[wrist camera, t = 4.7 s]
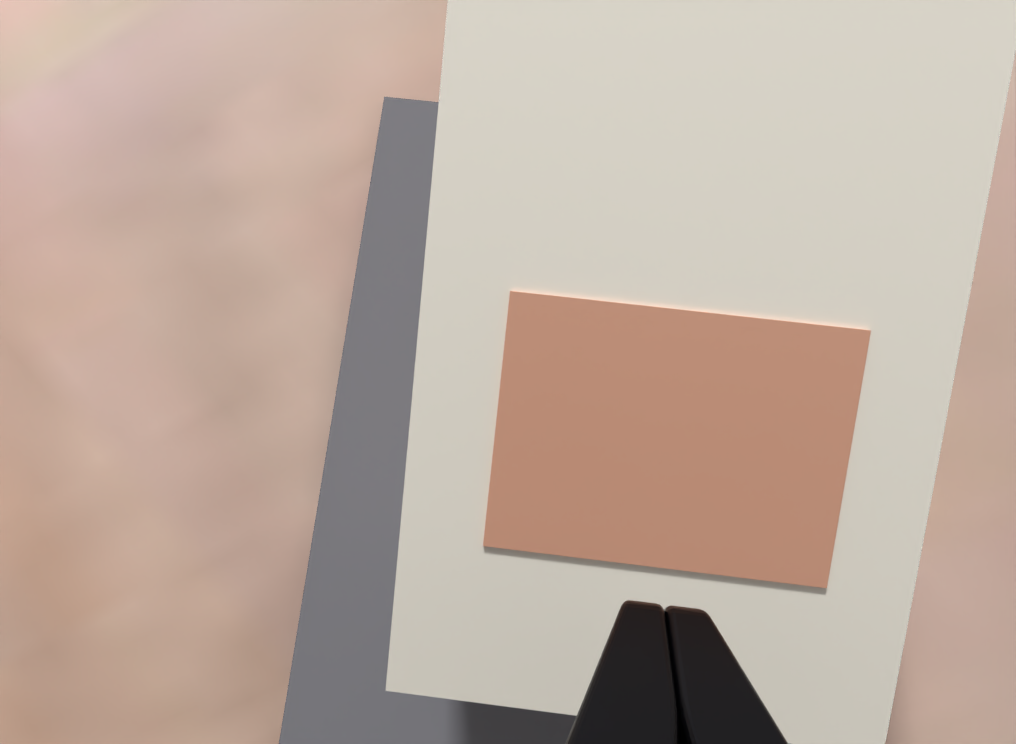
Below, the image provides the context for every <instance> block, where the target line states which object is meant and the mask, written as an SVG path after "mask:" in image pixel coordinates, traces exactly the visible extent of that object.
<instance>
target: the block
mask: <svg viewBox="0 0 1016 744" xmlns="http://www.w3.org/2000/svg"><path fill="white" fill-rule="evenodd" d="M1015 52H1016V0H448V5H447V16H446V27H445V38H444V49H443V60H442V71H441V82H440V93H439V104H438V115H437V126H436V137H435V148H434V159H433V170H432V182H431V193H430V204H429V215H428V226H427V237H426V248H425V259H424V270H423V281H422V292H421V303H420V314H419V325H418V336H417V347H416V359H415V370H414V381H413V392H412V403H411V414H410V425H409V436H408V447H407V458H406V469H405V480H404V491H403V502H402V513H401V524H400V535H399V547H398V558H397V569H396V580H395V591H394V602H393V613H392V624H391V635H390V646H389V657H388V668H387V679H386V690H385V691H391V692H399V693H406V694H414V695H422V696H429V697H437V698H445V699H452V700H460V701H467V702H475V703H483V704H490V705H498V706H506V707H513V708H521V709H529V710H536V711H544V712H552V713H559V714H567V715H574V716H577V714H578V711H579V709H580V706H581V704H582V701H583V699H584V696H585V694H586V691H587V689H588V687H589V684H590V682H591V679H592V677H593V674H594V672H595V669H596V667H597V664H598V662H599V659H600V657H601V654H602V652H603V649H604V647H605V644H606V642H607V639H608V637H609V635H610V632H611V630H612V627H613V625H614V622H615V620H616V617H617V615H618V612H619V610H620V608H621V605H622V604H623V603H624V602H625V601H627V600H633V601H641V602H649V603H656V604H659V605H661V606H662V607H663V609H665V608H666V607H668V606H672V605H673V606H681V607H689V608H697V609H701V610H704V611H705V612H706V613H708V614H709V616H710V617H711V619H712V620H713V622H714V624H715V625H716V627H717V628H718V630H719V632H720V633H721V635H722V637H723V638H724V640H725V641H726V643H727V645H728V646H729V648H730V650H731V651H732V653H733V655H734V656H735V658H736V659H737V661H738V663H739V664H740V666H741V668H742V669H743V671H744V672H745V674H746V676H747V677H748V679H749V681H750V682H751V684H752V685H753V687H754V689H755V690H756V692H757V694H758V695H759V697H760V699H761V700H762V702H763V703H764V705H765V707H766V708H767V710H768V712H769V713H770V715H771V716H772V718H773V720H774V721H775V723H776V725H777V726H778V728H779V729H780V731H781V733H782V734H783V736H784V738H785V739H786V741H787V742H788V744H885V742H886V737H887V732H888V726H889V721H890V716H891V710H892V705H893V700H894V695H895V689H896V684H897V679H898V673H899V668H900V663H901V657H902V652H903V647H904V641H905V636H906V631H907V625H908V620H909V615H910V610H911V604H912V599H913V594H914V588H915V583H916V578H917V572H918V567H919V562H920V556H921V551H922V546H923V541H924V535H925V530H926V525H927V519H928V514H929V509H930V503H931V498H932V493H933V487H934V482H935V477H936V471H937V466H938V461H939V456H940V450H941V445H942V440H943V434H944V429H945V424H946V418H947V413H948V408H949V402H950V397H951V392H952V387H953V381H954V376H955V371H956V365H957V360H958V355H959V349H960V344H961V339H962V333H963V328H964V323H965V317H966V312H967V307H968V302H969V296H970V291H971V286H972V280H973V275H974V270H975V264H976V259H977V254H978V248H979V243H980V238H981V232H982V227H983V222H984V217H985V211H986V206H987V201H988V195H989V190H990V185H991V179H992V174H993V169H994V163H995V158H996V153H997V148H998V142H999V137H1000V132H1001V126H1002V121H1003V116H1004V110H1005V105H1006V100H1007V94H1008V89H1009V84H1010V78H1011V73H1012V68H1013V63H1014V57H1015Z"/></svg>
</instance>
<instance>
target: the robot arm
mask: <svg viewBox="0 0 1016 744" xmlns="http://www.w3.org/2000/svg"><path fill="white" fill-rule="evenodd" d="M566 744H788V742H787V741H786V739H785V738H784V736H783V734H782V733H781V731H780V729H779V728H778V726H777V725H776V723H775V721H774V720H773V718H772V716H771V715H770V713H769V712H768V710H767V708H766V707H765V705H764V703H763V702H762V700H761V699H760V697H759V695H758V694H757V692H756V690H755V689H754V687H753V685H752V684H751V682H750V681H749V679H748V677H747V676H746V674H745V672H744V671H743V669H742V668H741V666H740V664H739V663H738V661H737V659H736V658H735V656H734V655H733V653H732V651H731V650H730V648H729V646H728V645H727V643H726V641H725V640H724V638H723V637H722V635H721V633H720V632H719V630H718V628H717V627H716V625H715V624H714V622H713V620H712V619H711V617H710V616H709V614H708V613H706V612H705V611H704V610H701V609H697V608H689V607H681V606H673V605H672V606H668V607H666V608H665V609H663V607H662V606H661V605H659V604H656V603H649V602H641V601H633V600H627V601H625V602H624V603H623V604H622V605H621V608H620V610H619V612H618V615H617V617H616V620H615V622H614V625H613V627H612V630H611V632H610V635H609V637H608V639H607V642H606V644H605V647H604V649H603V652H602V654H601V657H600V659H599V662H598V664H597V667H596V669H595V672H594V674H593V677H592V679H591V682H590V684H589V687H588V689H587V691H586V694H585V696H584V699H583V701H582V704H581V706H580V709H579V711H578V714H577V716H576V719H575V721H574V724H573V726H572V729H571V731H570V734H569V736H568V739H567V741H566Z"/></svg>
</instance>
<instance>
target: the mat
mask: <svg viewBox="0 0 1016 744" xmlns="http://www.w3.org/2000/svg"><path fill="white" fill-rule="evenodd" d="M438 104H439V102H431V101H421V100H411V99H401V98H391V97H384V102H383V109H382V115H381V121H380V127H379V133H378V139H377V145H376V152H375V158H374V164H373V170H372V176H371V182H370V188H369V194H368V201H367V207H366V213H365V219H364V225H363V231H362V237H361V244H360V250H359V256H358V262H357V268H356V274H355V280H354V286H353V293H352V299H351V305H350V311H349V317H348V323H347V329H346V336H345V342H344V348H343V354H342V360H341V366H340V372H339V378H338V385H337V391H336V397H335V403H334V409H333V415H332V421H331V427H330V434H329V440H328V446H327V452H326V458H325V464H324V470H323V477H322V483H321V489H320V495H319V501H318V507H317V513H316V519H315V526H314V532H313V538H312V544H311V550H310V556H309V562H308V569H307V575H306V581H305V587H304V593H303V599H302V605H301V611H300V618H299V624H298V630H297V636H296V642H295V648H294V654H293V661H292V667H291V673H290V679H289V685H288V691H287V697H286V703H285V710H284V716H283V722H282V728H281V734H280V740H279V744H566V741H567V739H568V736H569V734H570V731H571V729H572V726H573V724H574V721H575V719H576V716H574V715H567V714H559V713H552V712H544V711H536V710H529V709H521V708H513V707H506V706H498V705H490V704H483V703H475V702H467V701H460V700H452V699H445V698H437V697H429V696H422V695H414V694H406V693H399V692H391V691H385V690H386V679H387V668H388V657H389V646H390V635H391V624H392V613H393V602H394V591H395V580H396V569H397V558H398V547H399V535H400V524H401V513H402V502H403V491H404V480H405V469H406V458H407V447H408V436H409V425H410V414H411V403H412V392H413V381H414V370H415V359H416V347H417V336H418V325H419V314H420V303H421V292H422V281H423V270H424V259H425V248H426V237H427V226H428V215H429V204H430V193H431V182H432V170H433V159H434V148H435V137H436V126H437V115H438Z"/></svg>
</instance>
